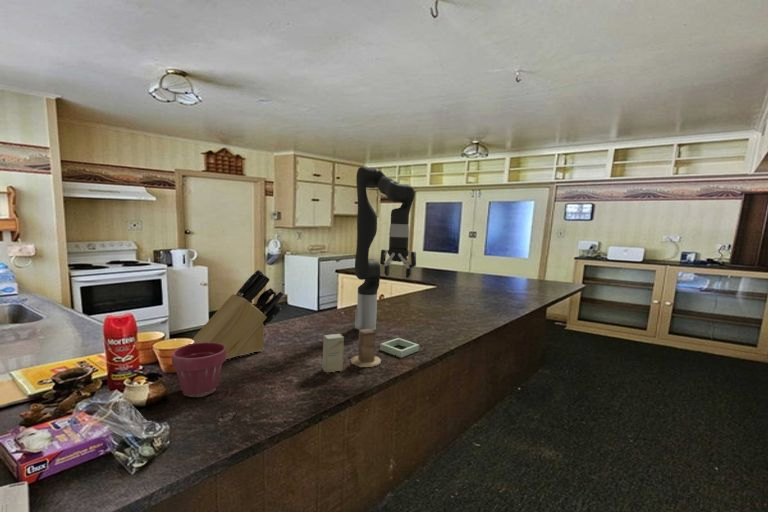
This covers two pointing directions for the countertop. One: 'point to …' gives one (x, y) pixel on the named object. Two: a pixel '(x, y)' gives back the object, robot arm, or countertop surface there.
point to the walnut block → (366, 345)
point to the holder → (391, 349)
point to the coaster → (368, 364)
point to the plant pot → (199, 366)
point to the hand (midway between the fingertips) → (397, 276)
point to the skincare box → (333, 352)
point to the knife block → (242, 318)
